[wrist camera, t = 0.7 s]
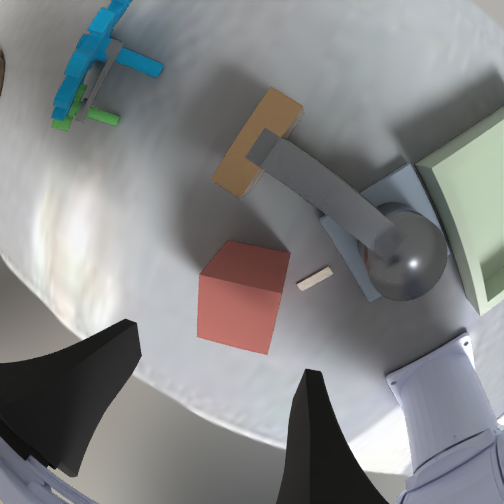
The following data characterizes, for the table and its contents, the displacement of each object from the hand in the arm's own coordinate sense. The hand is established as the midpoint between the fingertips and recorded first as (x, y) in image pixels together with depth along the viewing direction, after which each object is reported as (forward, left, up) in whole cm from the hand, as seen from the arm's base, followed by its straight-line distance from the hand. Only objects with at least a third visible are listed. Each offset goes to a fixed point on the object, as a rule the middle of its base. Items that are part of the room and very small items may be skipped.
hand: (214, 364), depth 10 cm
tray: (-5, -18, -8) cm, 20 cm away
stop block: (0, 0, -8) cm, 8 cm away
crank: (+1, -7, -8) cm, 11 cm away
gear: (+18, -2, -9) cm, 20 cm away
